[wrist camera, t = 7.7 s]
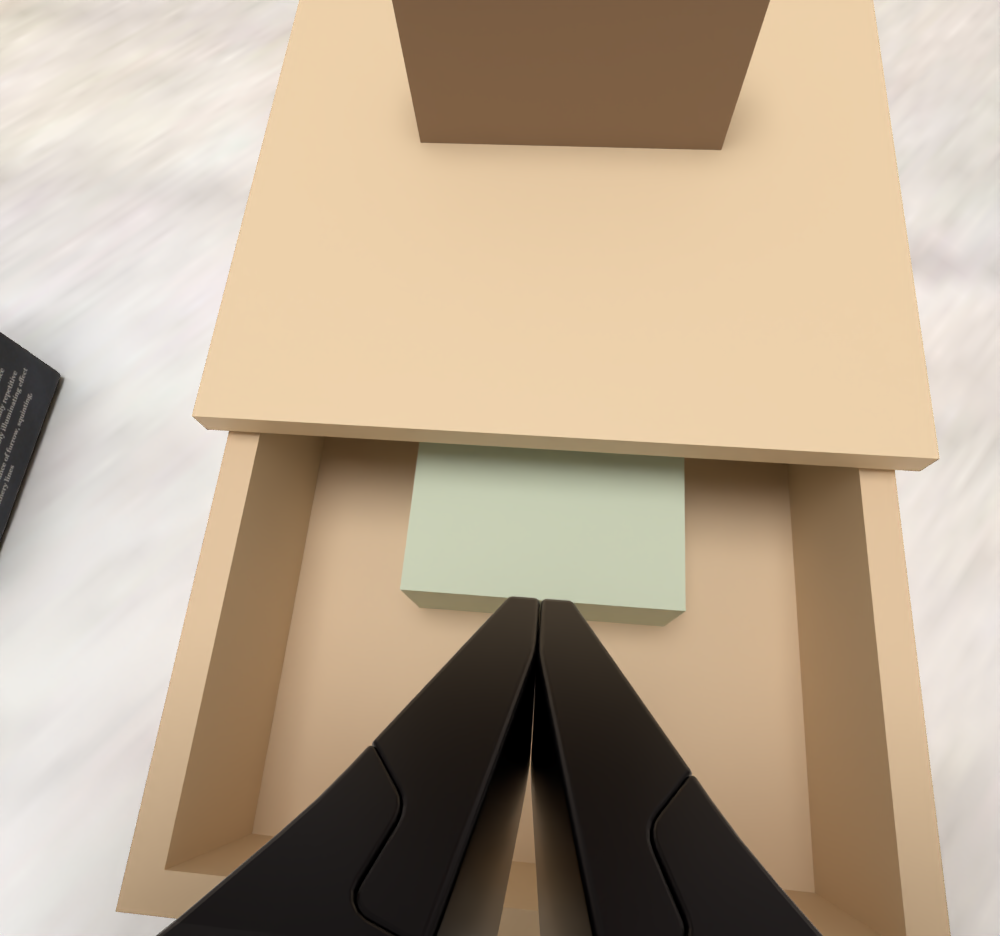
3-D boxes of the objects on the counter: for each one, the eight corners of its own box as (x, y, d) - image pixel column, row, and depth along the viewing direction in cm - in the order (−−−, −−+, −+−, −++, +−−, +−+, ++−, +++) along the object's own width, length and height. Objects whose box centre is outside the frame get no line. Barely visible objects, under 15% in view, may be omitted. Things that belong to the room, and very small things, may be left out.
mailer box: (842, 928, 17) (959, 1009, 12) (224, 861, 18) (115, 911, 14) (792, 259, 24) (855, 147, 19) (344, 243, 25) (299, 133, 20)
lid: (920, 471, 15) (1129, 337, 10) (207, 429, 17) (48, 291, 11) (840, -121, 22) (937, -388, 17) (343, -119, 24) (285, -366, 18)
